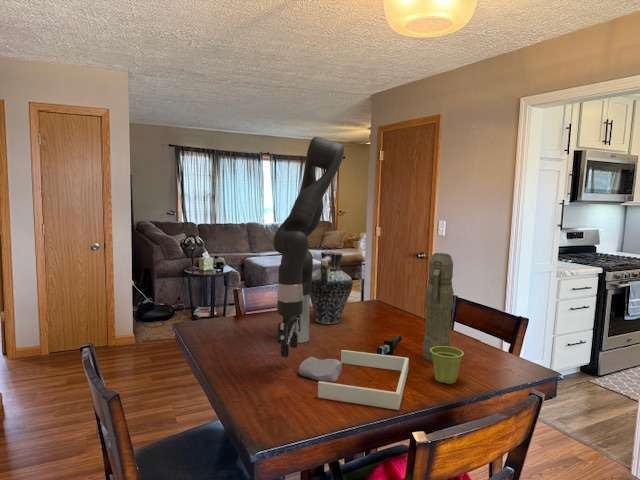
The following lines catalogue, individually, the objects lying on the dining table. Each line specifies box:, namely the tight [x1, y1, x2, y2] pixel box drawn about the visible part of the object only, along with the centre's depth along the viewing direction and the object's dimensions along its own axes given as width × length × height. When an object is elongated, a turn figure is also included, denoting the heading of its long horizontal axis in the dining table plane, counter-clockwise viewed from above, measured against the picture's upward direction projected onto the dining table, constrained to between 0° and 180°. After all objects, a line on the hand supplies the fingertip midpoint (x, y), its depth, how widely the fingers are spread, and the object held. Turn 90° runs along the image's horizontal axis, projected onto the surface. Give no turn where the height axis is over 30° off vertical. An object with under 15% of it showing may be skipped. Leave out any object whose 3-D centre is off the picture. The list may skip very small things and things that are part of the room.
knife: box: [376, 334, 403, 355], centre depth 153 cm, size 31×3×4 cm, turn 152°
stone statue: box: [422, 252, 454, 363], centre depth 145 cm, size 9×12×35 cm
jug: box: [310, 250, 354, 325], centre depth 186 cm, size 21×19×30 cm
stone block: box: [298, 356, 343, 383], centre depth 130 cm, size 12×5×10 cm
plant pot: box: [430, 346, 465, 385], centre depth 128 cm, size 9×9×9 cm
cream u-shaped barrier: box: [317, 349, 410, 411], centre depth 125 cm, size 21×27×4 cm
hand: (289, 352), depth 131 cm, fingers open, 8 cm apart
